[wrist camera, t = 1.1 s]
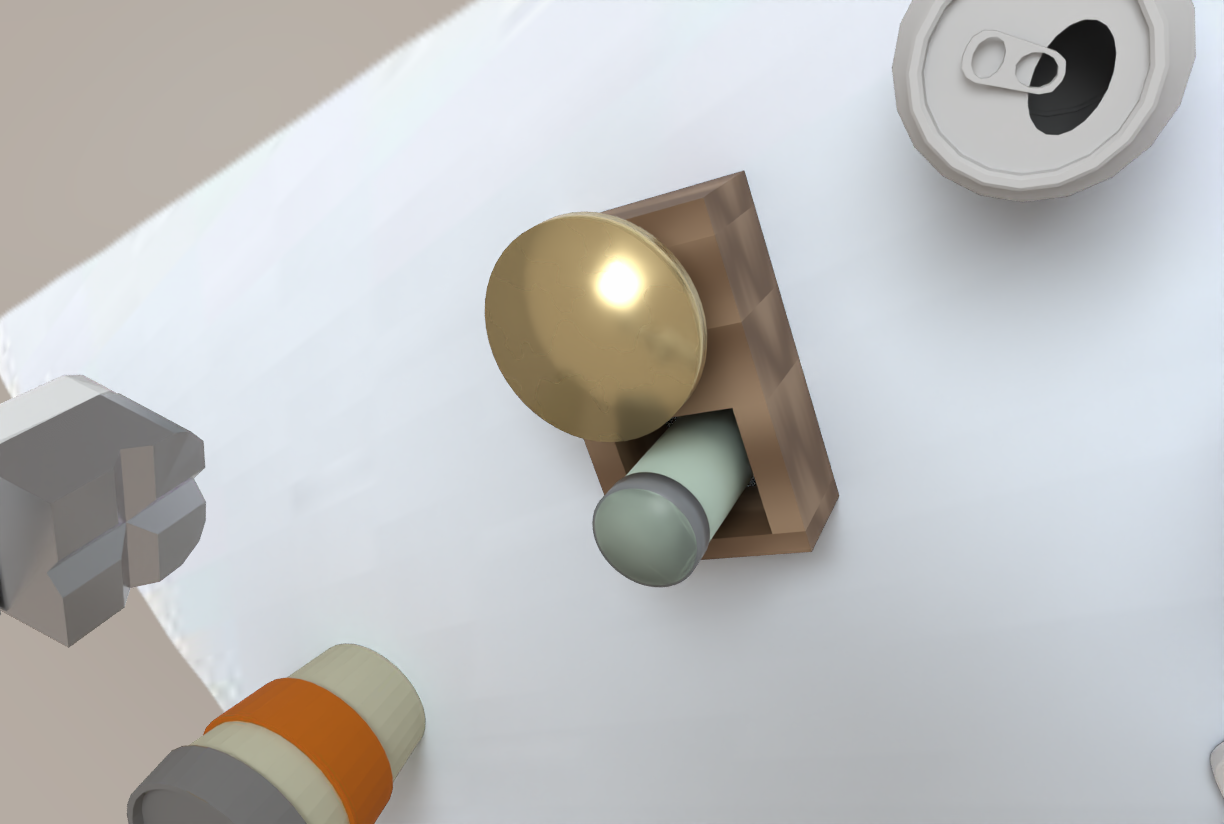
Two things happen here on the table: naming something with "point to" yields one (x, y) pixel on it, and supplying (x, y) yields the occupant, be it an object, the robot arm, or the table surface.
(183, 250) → the table surface
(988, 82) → the can
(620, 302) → the gold rounded dome
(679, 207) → the housing
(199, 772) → the reusable coffee cup
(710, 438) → the cartridge
